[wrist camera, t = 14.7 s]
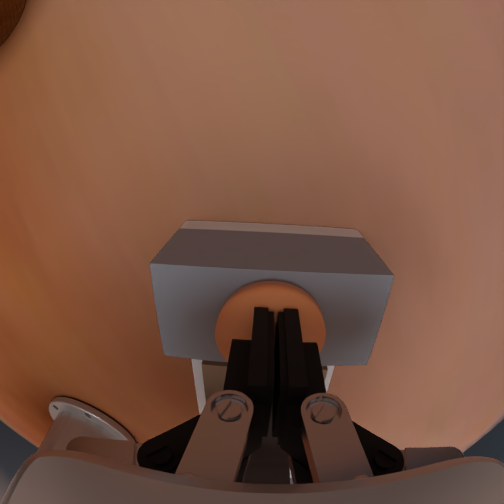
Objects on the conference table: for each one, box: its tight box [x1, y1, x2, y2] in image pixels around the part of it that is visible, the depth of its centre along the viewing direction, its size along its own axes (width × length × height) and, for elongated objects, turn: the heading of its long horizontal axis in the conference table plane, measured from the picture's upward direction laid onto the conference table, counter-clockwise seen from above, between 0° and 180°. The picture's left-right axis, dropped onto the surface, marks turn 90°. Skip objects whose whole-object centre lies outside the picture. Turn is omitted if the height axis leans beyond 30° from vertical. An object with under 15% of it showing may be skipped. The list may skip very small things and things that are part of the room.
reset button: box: [215, 281, 326, 361], centre depth 12 cm, size 4×4×2 cm
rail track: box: [150, 220, 394, 484], centre depth 20 cm, size 32×10×6 cm, turn 178°
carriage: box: [202, 360, 328, 484], centre depth 14 cm, size 8×7×9 cm
